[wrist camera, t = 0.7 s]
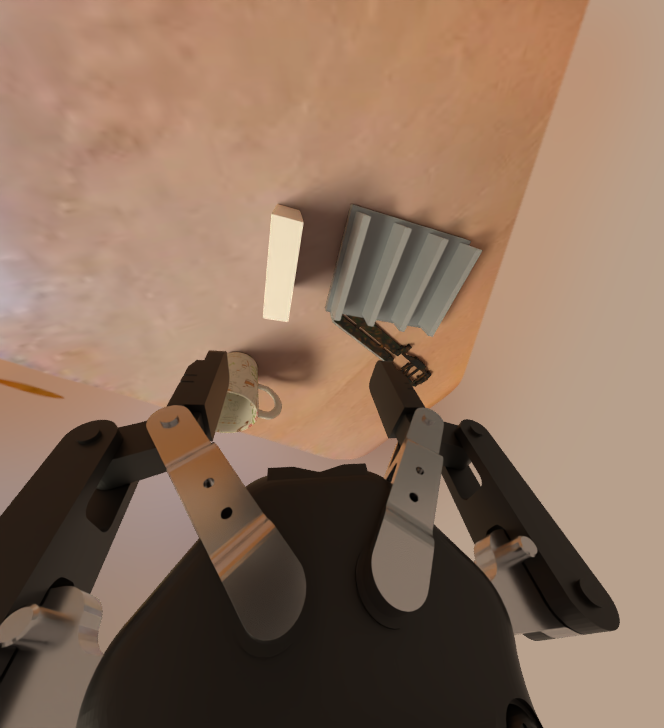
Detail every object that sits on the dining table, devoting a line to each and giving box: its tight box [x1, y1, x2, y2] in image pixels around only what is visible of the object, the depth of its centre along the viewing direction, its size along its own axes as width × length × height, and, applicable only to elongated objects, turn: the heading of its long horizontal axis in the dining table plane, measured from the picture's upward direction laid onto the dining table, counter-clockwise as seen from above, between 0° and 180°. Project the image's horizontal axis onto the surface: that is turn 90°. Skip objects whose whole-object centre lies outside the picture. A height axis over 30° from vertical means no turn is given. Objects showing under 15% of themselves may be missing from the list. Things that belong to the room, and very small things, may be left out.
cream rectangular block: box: [263, 204, 304, 322], centre depth 25 cm, size 2×9×10 cm, turn 166°
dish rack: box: [325, 204, 483, 337], centre depth 31 cm, size 16×13×4 cm
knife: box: [330, 312, 431, 387], centre depth 40 cm, size 25×6×1 cm, turn 42°
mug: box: [215, 352, 282, 433], centre depth 35 cm, size 8×13×10 cm, turn 53°
